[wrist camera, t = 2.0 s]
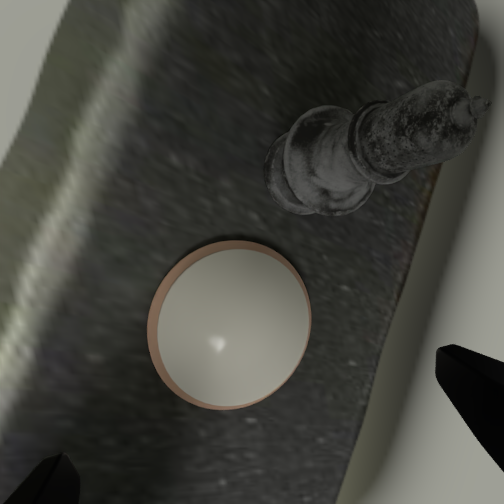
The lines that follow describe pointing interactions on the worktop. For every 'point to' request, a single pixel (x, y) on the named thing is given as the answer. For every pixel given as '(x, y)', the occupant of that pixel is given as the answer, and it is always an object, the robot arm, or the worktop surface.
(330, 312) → the worktop surface
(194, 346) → the coaster
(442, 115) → the dark chess piece
